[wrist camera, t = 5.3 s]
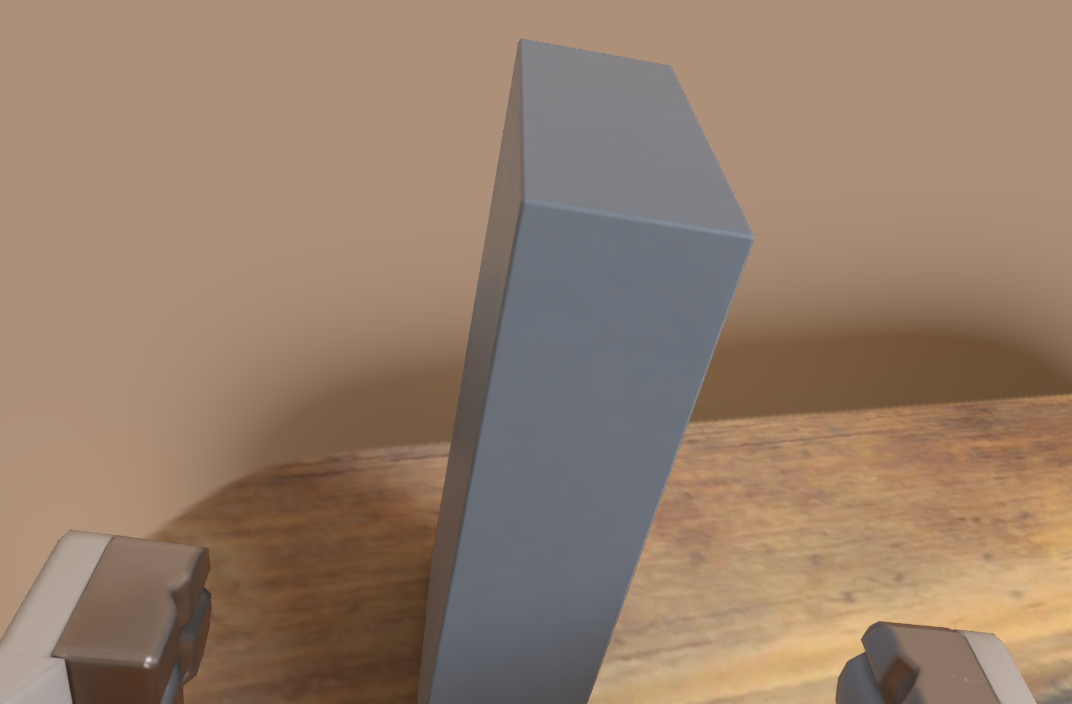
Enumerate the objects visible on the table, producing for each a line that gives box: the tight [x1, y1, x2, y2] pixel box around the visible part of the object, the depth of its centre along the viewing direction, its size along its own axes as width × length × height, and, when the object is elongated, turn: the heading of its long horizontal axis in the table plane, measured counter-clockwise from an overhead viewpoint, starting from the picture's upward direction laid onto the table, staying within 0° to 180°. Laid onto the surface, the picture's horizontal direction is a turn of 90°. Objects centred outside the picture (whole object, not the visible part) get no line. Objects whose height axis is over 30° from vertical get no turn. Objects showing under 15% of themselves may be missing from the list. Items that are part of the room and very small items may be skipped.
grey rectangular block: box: [417, 39, 754, 704], centre depth 15 cm, size 2×6×12 cm, turn 1°
